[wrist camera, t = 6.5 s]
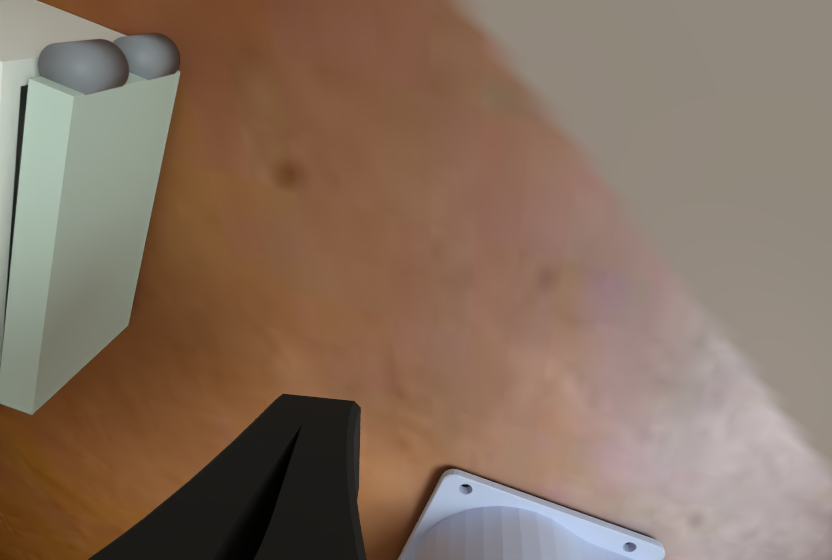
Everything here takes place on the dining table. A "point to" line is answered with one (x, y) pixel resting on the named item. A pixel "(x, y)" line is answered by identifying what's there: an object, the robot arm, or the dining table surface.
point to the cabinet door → (83, 205)
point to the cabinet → (25, 100)
